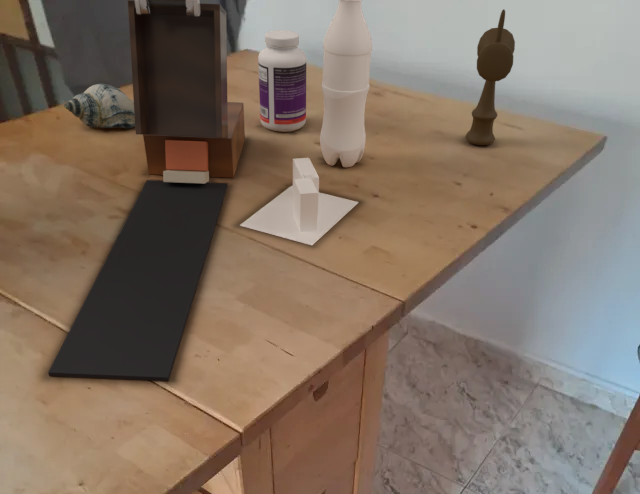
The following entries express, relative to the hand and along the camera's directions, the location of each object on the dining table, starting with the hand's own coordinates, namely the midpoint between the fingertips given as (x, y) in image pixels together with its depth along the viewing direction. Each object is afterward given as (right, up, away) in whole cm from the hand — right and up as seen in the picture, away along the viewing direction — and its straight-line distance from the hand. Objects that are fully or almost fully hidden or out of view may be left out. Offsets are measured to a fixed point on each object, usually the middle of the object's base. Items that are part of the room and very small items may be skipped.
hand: (169, 14), depth 87 cm
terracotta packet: (0, -12, +15) cm, 19 cm away
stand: (0, -9, +24) cm, 25 cm away
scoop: (0, -2, +11) cm, 11 cm away
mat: (-1, -32, -1) cm, 32 cm away
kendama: (+47, -3, +32) cm, 56 cm away
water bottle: (+23, -10, +24) cm, 34 cm away
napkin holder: (+16, -22, +10) cm, 29 cm away
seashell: (-18, 0, +32) cm, 37 cm away
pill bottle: (+13, +1, +35) cm, 37 cm away
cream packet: (-1, -14, +14) cm, 20 cm away
